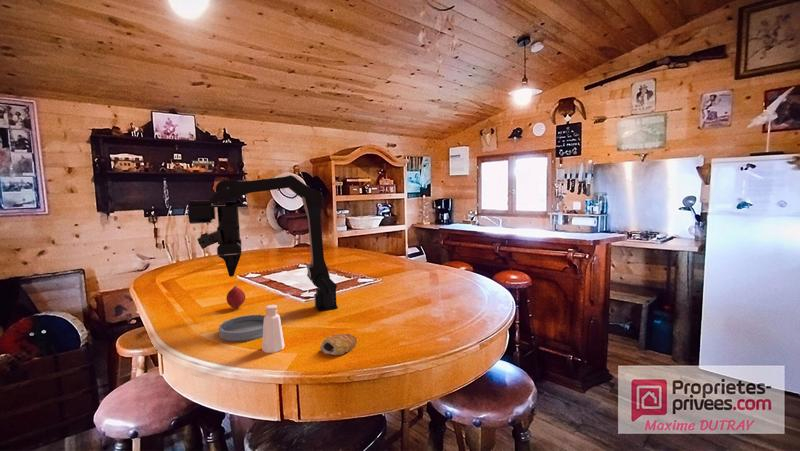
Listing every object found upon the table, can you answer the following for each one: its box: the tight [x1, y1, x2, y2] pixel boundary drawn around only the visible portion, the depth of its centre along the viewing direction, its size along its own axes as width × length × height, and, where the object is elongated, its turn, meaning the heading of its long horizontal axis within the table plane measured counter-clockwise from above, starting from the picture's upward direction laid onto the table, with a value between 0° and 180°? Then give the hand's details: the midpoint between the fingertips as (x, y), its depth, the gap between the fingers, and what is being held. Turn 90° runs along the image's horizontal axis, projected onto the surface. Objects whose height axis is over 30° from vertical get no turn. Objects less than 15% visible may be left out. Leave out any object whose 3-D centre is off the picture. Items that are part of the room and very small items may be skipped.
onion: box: [225, 284, 246, 309], centre depth 126 cm, size 6×6×8 cm
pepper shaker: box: [261, 304, 286, 354], centre depth 93 cm, size 5×5×11 cm
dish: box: [218, 314, 266, 343], centre depth 105 cm, size 14×14×2 cm
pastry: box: [319, 333, 358, 356], centre depth 93 cm, size 9×7×4 cm
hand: (231, 273), depth 113 cm, fingers open, 9 cm apart
